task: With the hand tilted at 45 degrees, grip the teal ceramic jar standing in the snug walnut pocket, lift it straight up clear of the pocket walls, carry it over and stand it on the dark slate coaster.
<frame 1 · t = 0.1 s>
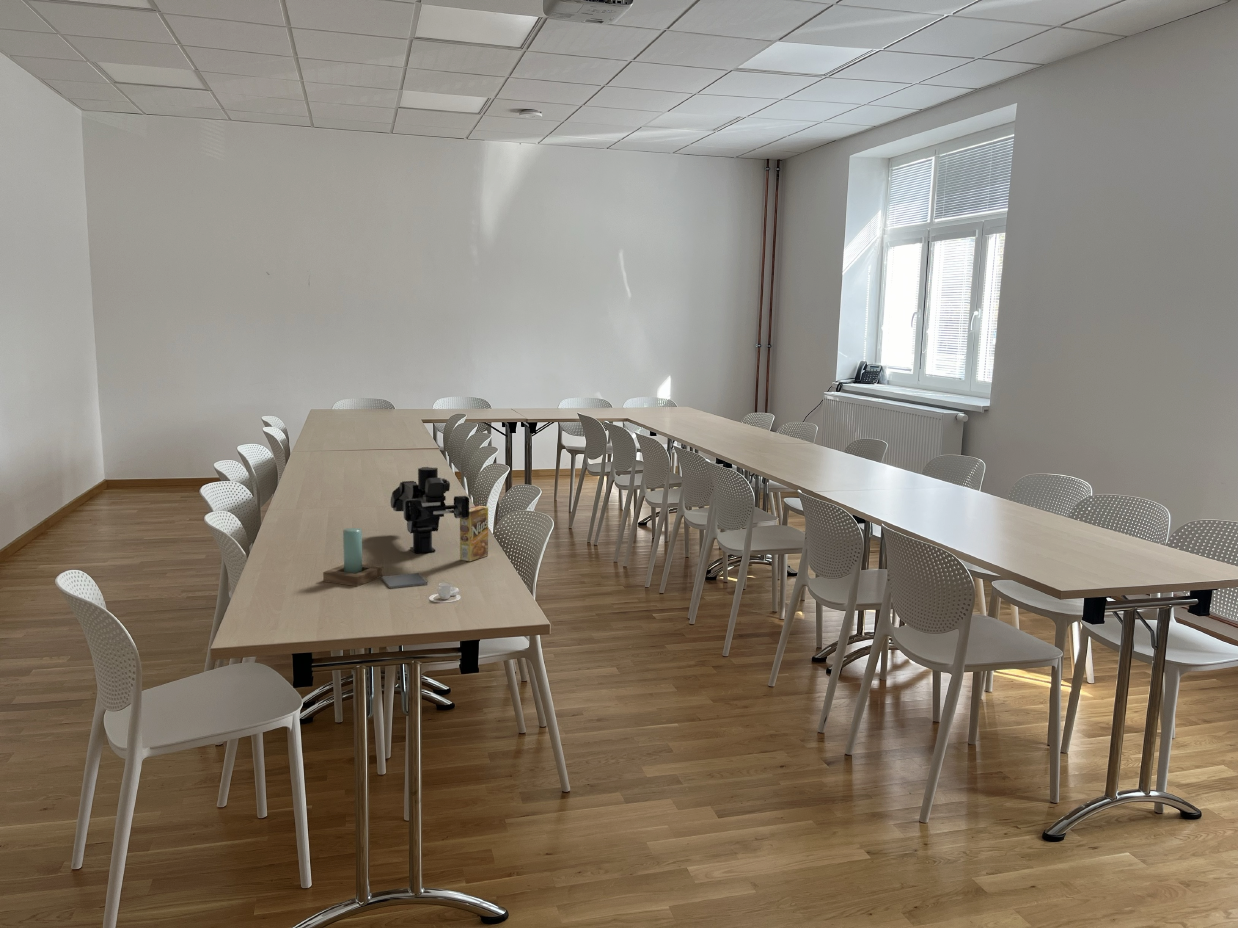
hand: (444, 514, 243), 17 cm above the table, tool horizontal, fingers open, 9 cm apart
teacup and saucer: (457, 600, 222), on the table
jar: (352, 554, 236), in the pocket block
coaster: (404, 581, 235), on the table
candy box: (474, 558, 261), on the table
pocket block: (353, 578, 237), on the table
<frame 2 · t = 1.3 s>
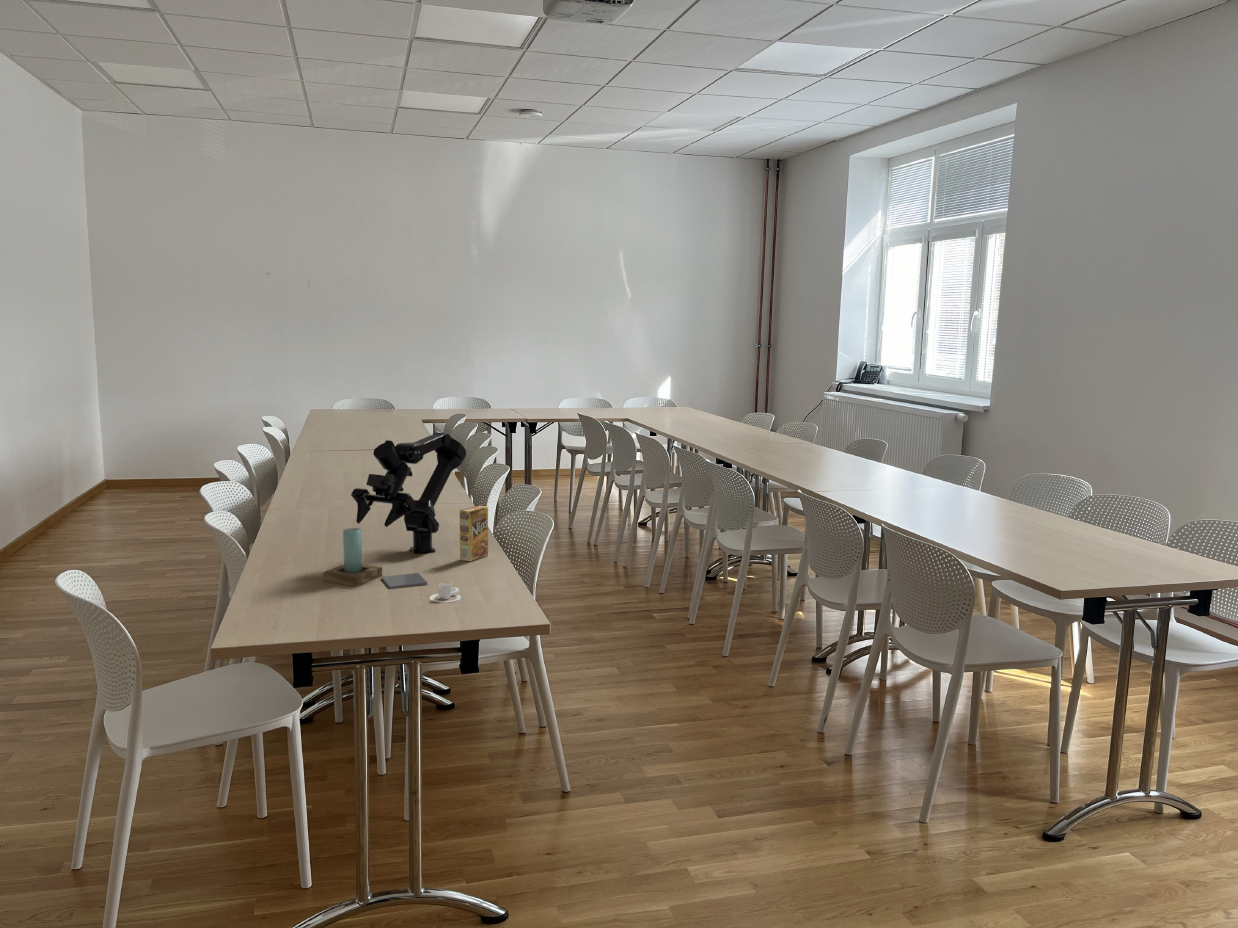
hand: (371, 524, 242), 13 cm above the table, tool tilted 45°, fingers open, 9 cm apart
nothing on the table moved.
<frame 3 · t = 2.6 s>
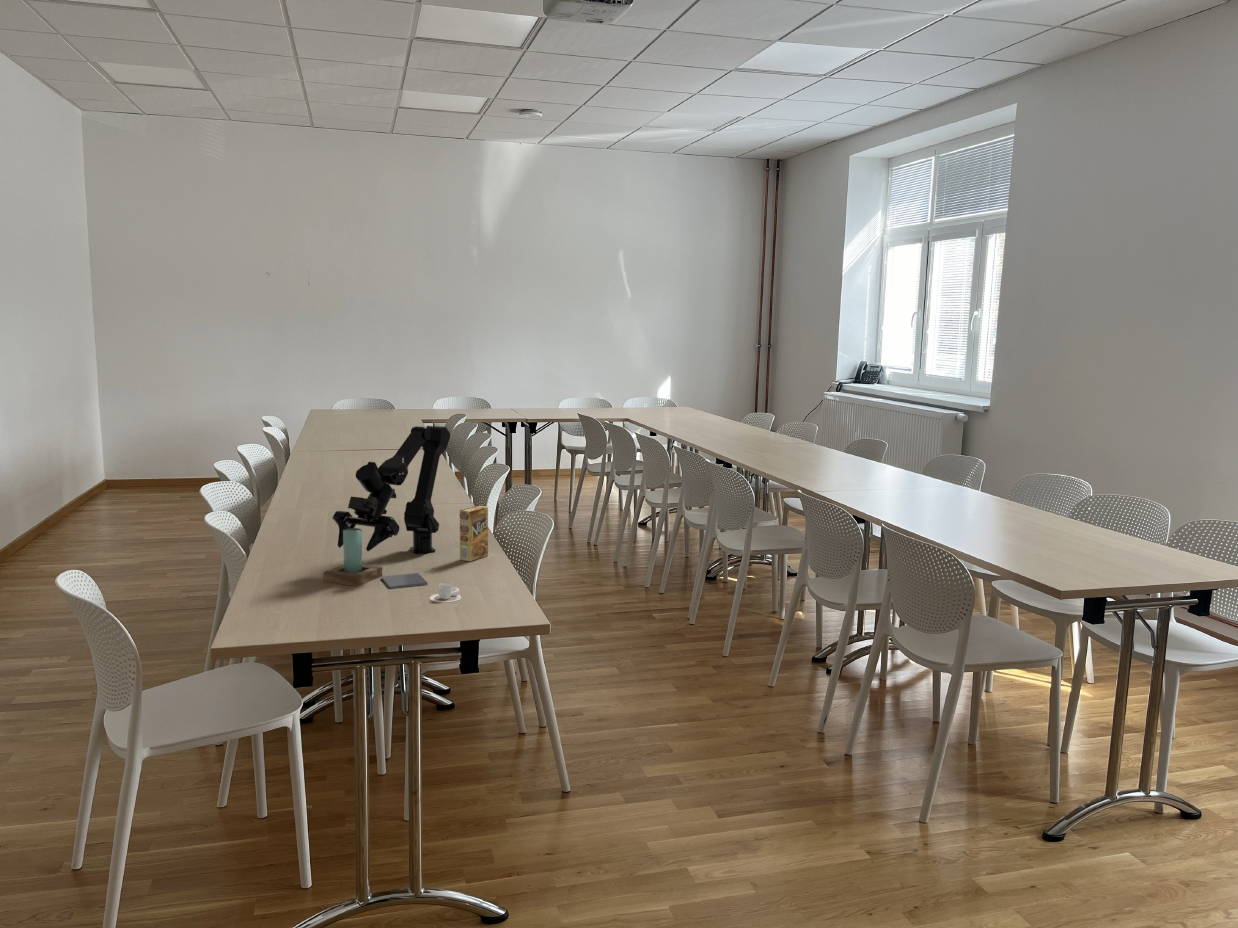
hand: (352, 548, 235), 8 cm above the table, tool tilted 45°, fingers open, 9 cm apart
nothing on the table moved.
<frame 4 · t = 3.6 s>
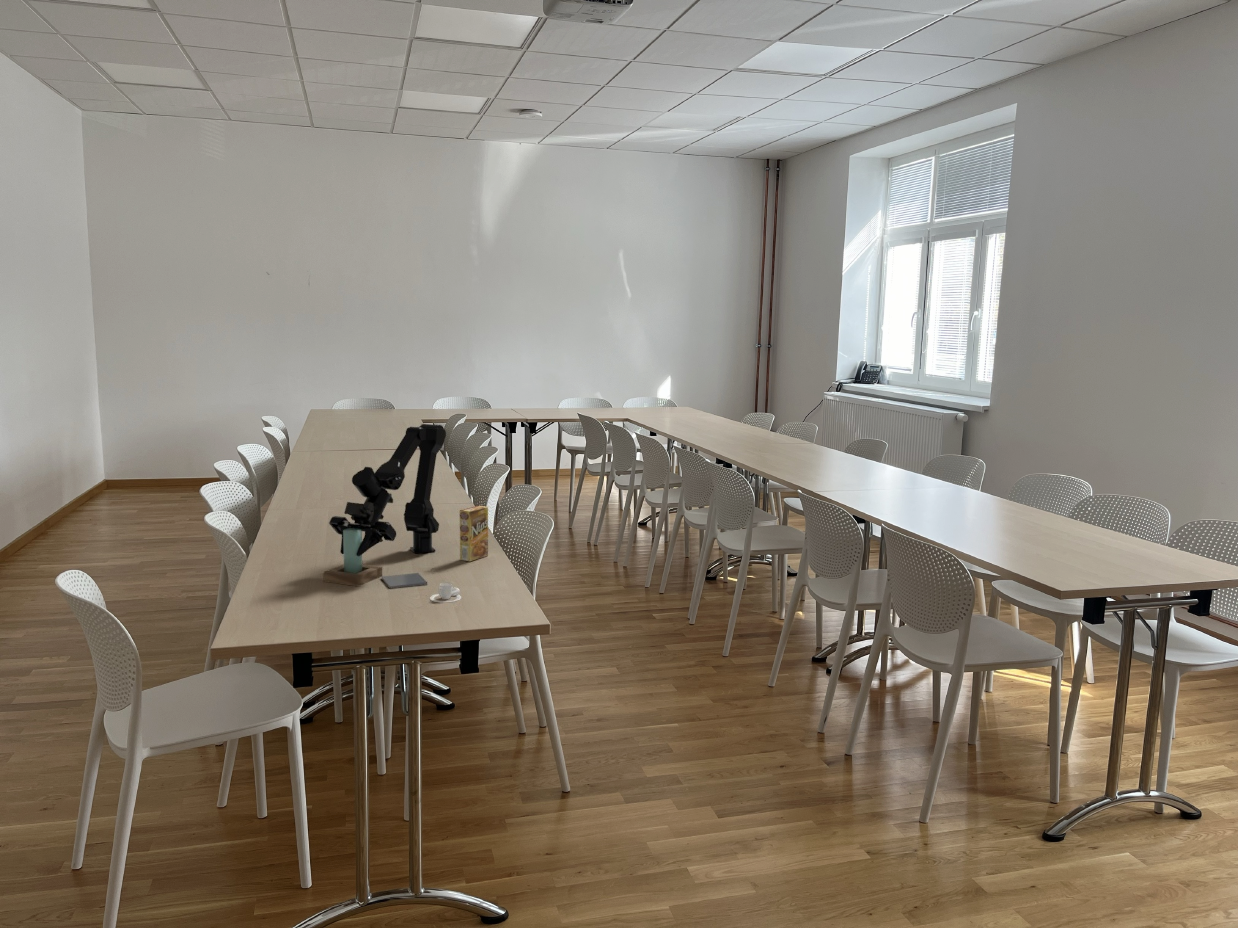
hand: (349, 554, 234), 7 cm above the table, tool tilted 45°, fingers closed on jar, 5 cm apart
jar: (352, 554, 236), in the pocket block, touching gripper
everything else where it was.
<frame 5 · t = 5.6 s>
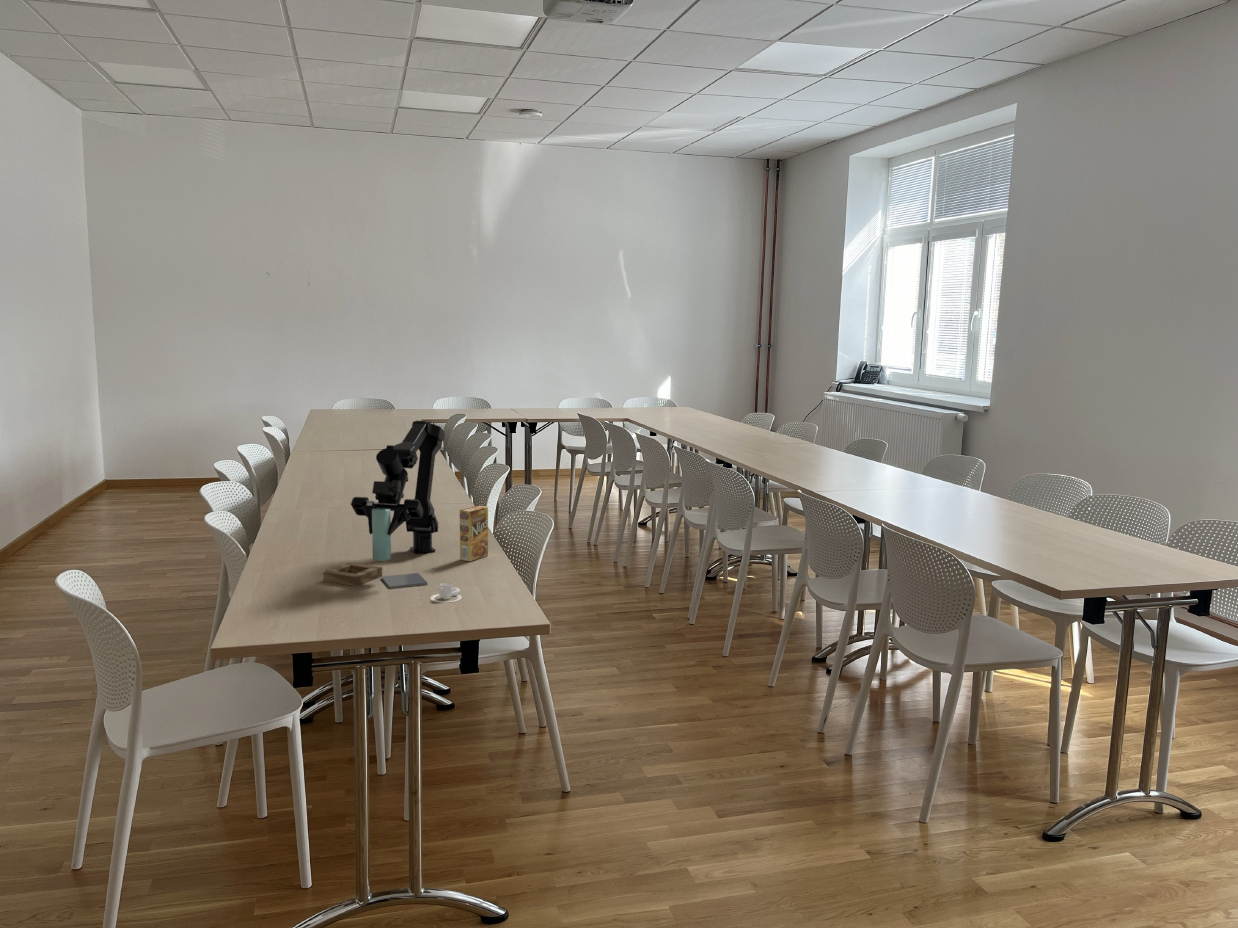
hand: (379, 533, 232), 13 cm above the table, tool tilted 45°, fingers closed on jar, 5 cm apart
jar: (381, 533, 233), point 13 cm above the table, touching gripper
everything else where it was.
when the fingers open (8 cm above the table, at t = 7.4 s): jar stays where it is, resting on coaster.
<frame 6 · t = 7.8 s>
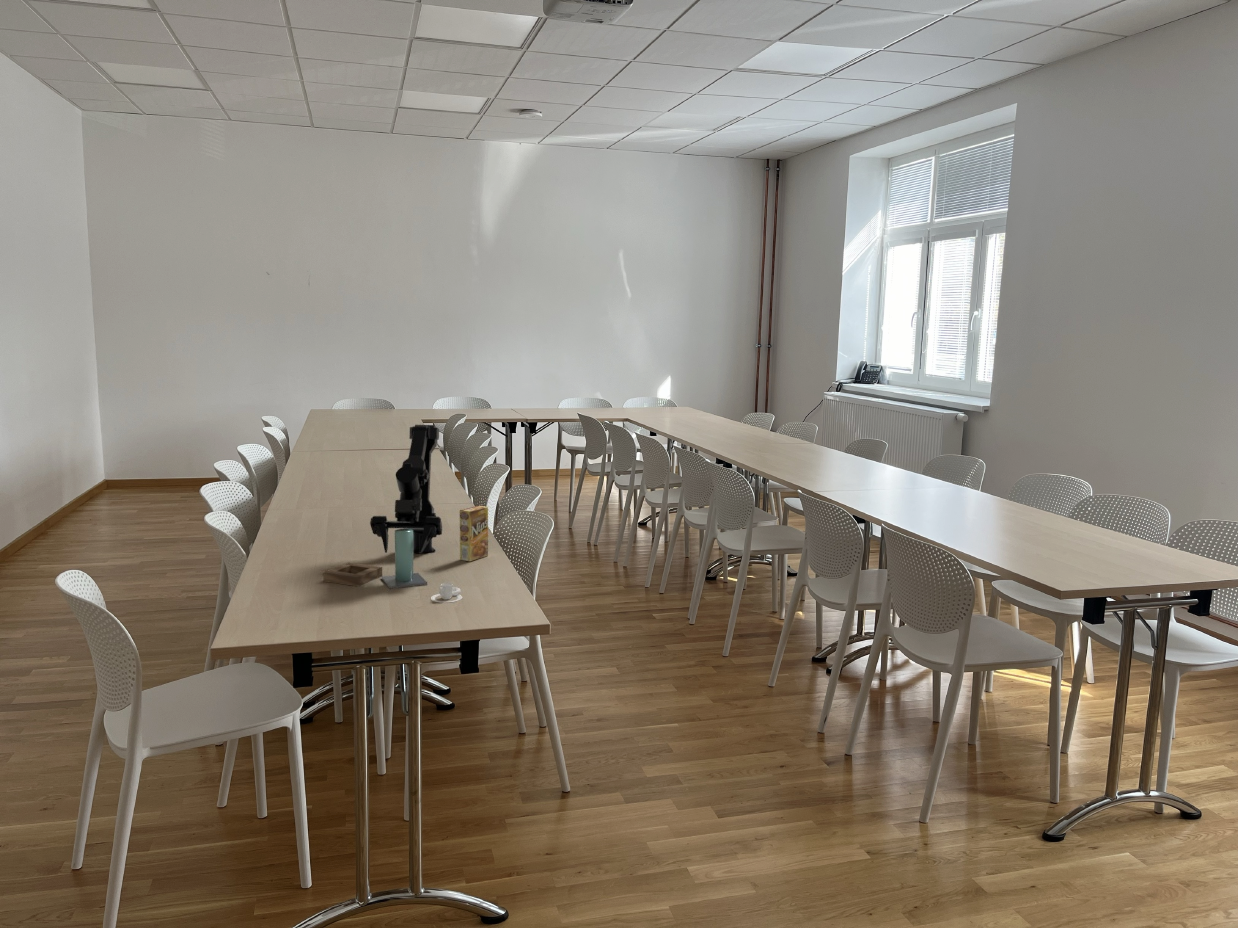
hand: (403, 552, 232), 9 cm above the table, tool tilted 45°, fingers open, 9 cm apart
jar: (404, 555, 234), on the coaster, point 7 cm above the table
everything else where it was.
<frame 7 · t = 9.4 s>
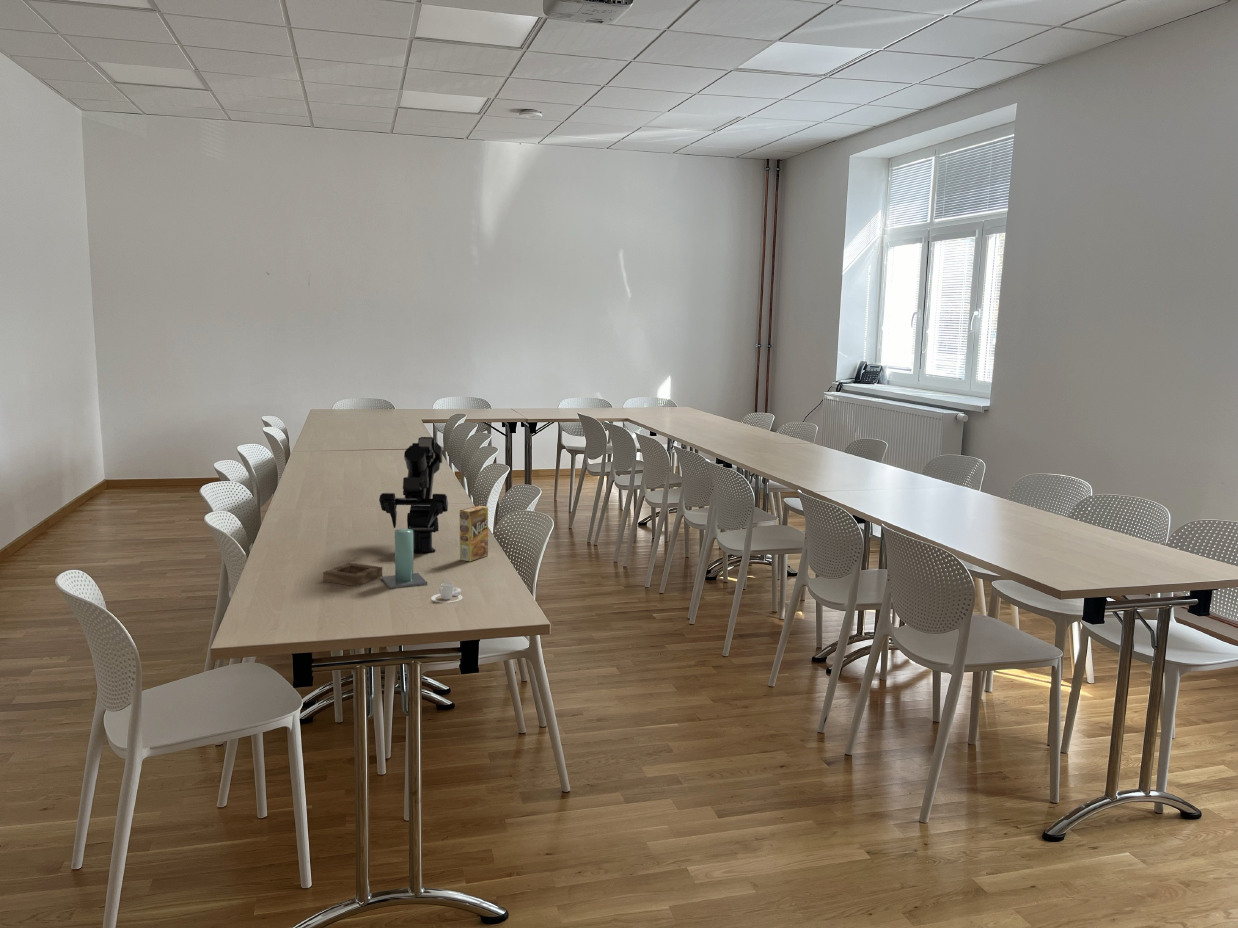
hand: (410, 527, 243), 13 cm above the table, tool tilted 45°, fingers open, 9 cm apart
nothing on the table moved.
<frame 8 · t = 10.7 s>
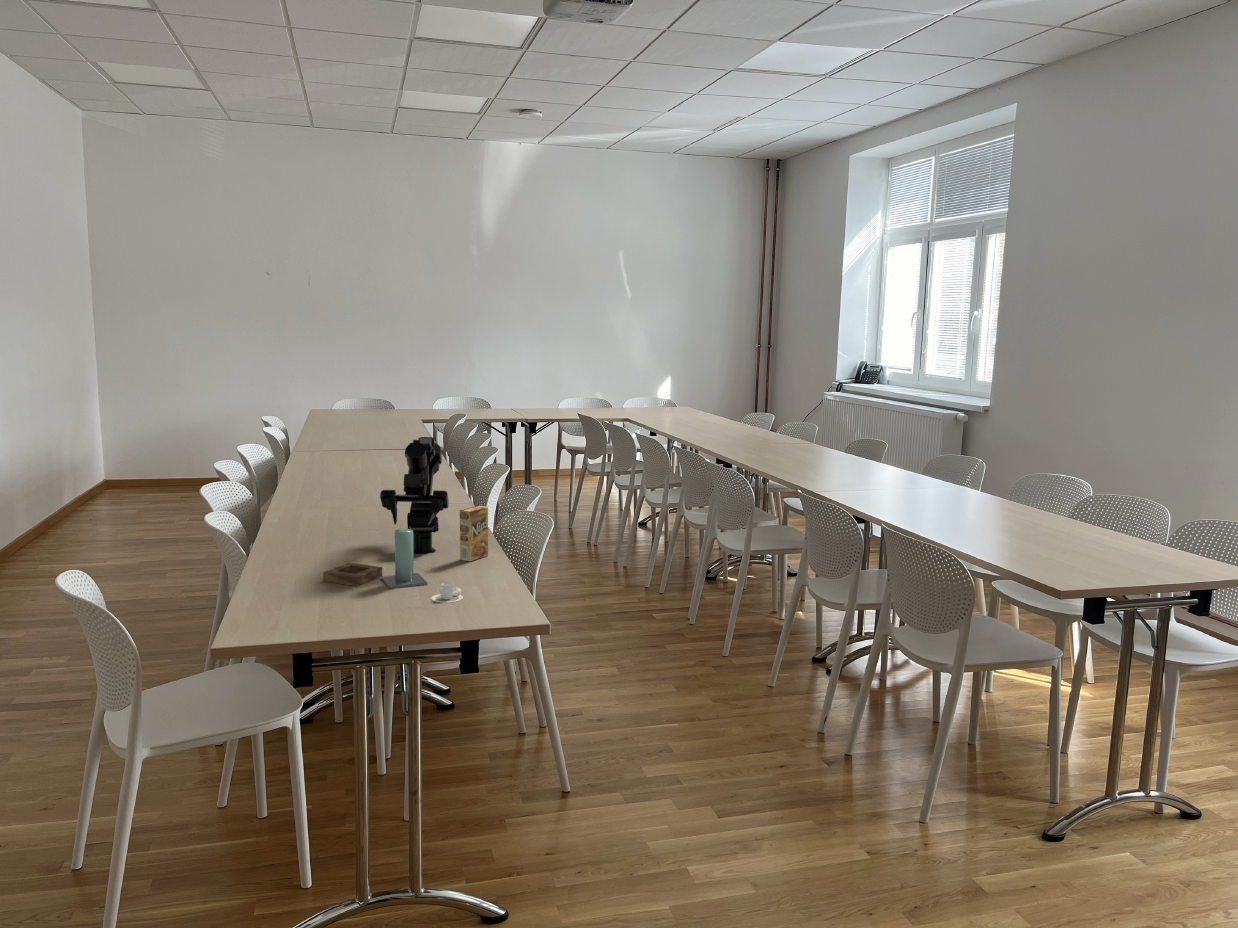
hand: (411, 523, 243), 14 cm above the table, tool tilted 45°, fingers open, 9 cm apart
nothing on the table moved.
at the end: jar inside the target area on the coaster (0.1 cm from its centre), point 7.3 cm above the coaster's base; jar tilted 0°; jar touching coaster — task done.
